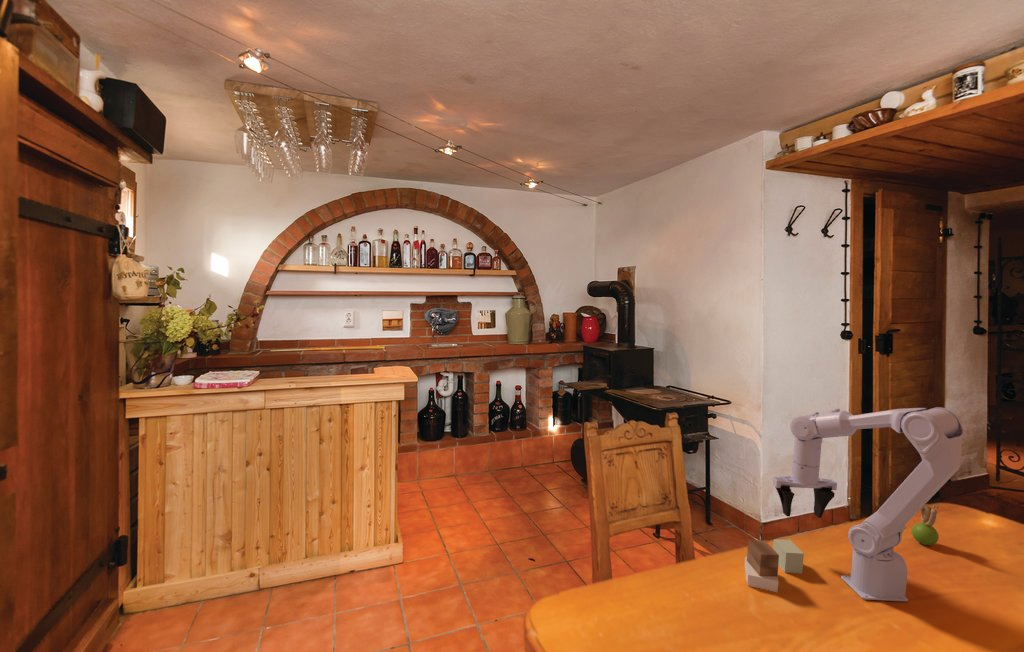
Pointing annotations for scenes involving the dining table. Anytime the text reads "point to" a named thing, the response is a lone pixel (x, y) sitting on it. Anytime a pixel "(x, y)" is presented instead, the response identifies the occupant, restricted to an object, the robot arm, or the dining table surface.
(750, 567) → the pale grey brick
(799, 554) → the sage brick
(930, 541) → the green egg with ears
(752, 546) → the walnut brick
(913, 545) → the dining table surface
